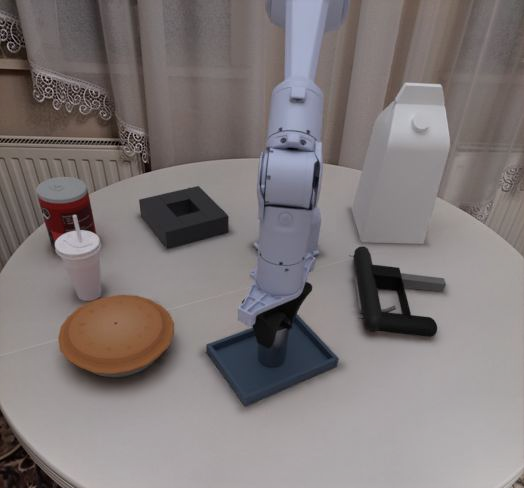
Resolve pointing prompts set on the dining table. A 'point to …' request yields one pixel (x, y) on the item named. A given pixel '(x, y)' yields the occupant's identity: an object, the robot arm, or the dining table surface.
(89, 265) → the smoothie
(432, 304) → the dining table surface
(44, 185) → the canned food
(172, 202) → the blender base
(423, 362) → the dining table surface
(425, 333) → the door handle
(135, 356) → the pie
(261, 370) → the tray
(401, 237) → the milk
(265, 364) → the dark grey canister
